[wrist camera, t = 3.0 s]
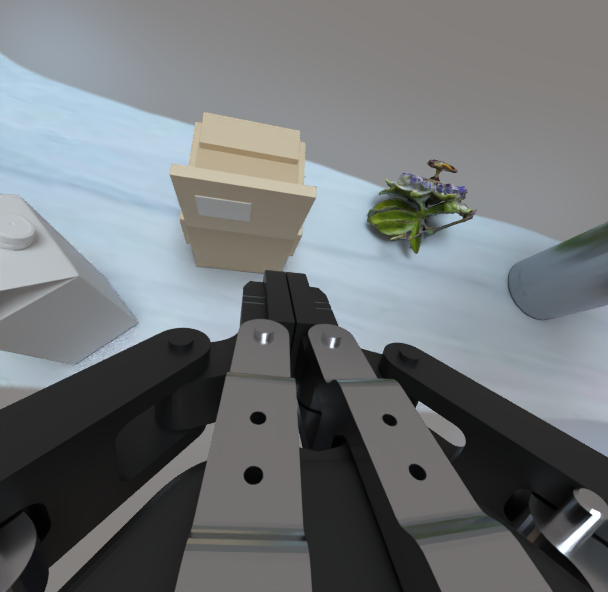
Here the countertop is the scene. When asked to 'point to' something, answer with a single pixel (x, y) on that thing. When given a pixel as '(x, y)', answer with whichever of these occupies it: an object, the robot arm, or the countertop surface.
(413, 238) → the passion flower
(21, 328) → the milk carton
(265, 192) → the flap
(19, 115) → the countertop surface
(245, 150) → the carton
